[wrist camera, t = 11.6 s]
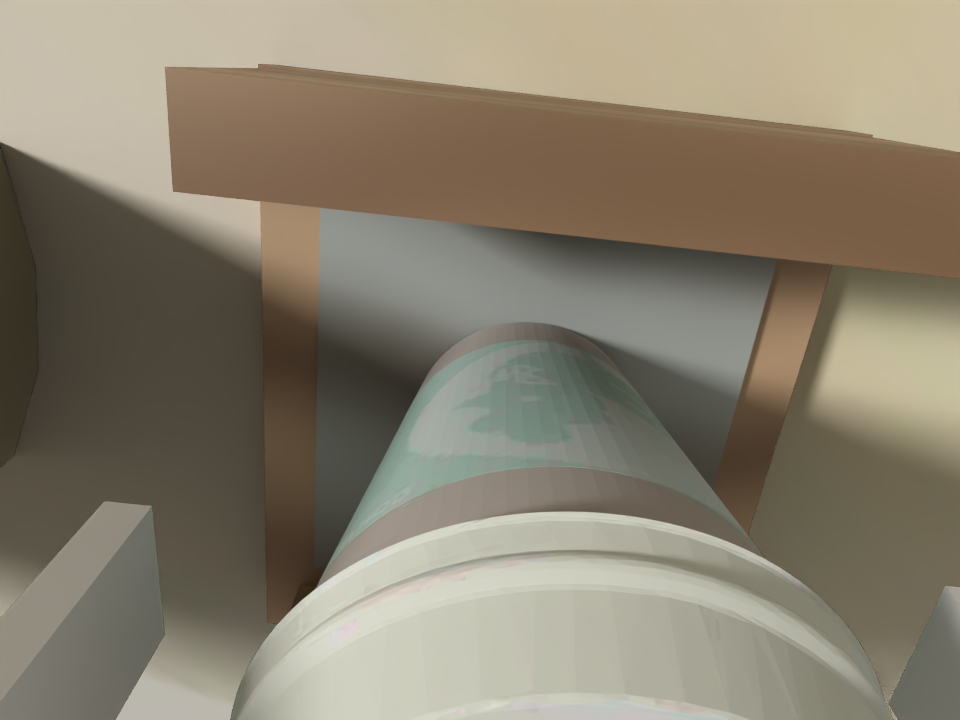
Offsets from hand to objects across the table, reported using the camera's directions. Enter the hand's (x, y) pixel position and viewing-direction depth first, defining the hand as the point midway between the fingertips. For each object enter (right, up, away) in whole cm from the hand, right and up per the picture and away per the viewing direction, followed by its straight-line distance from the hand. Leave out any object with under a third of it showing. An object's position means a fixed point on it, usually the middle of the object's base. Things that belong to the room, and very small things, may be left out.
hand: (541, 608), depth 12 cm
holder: (0, +3, +8) cm, 9 cm away
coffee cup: (0, +3, +7) cm, 7 cm away
